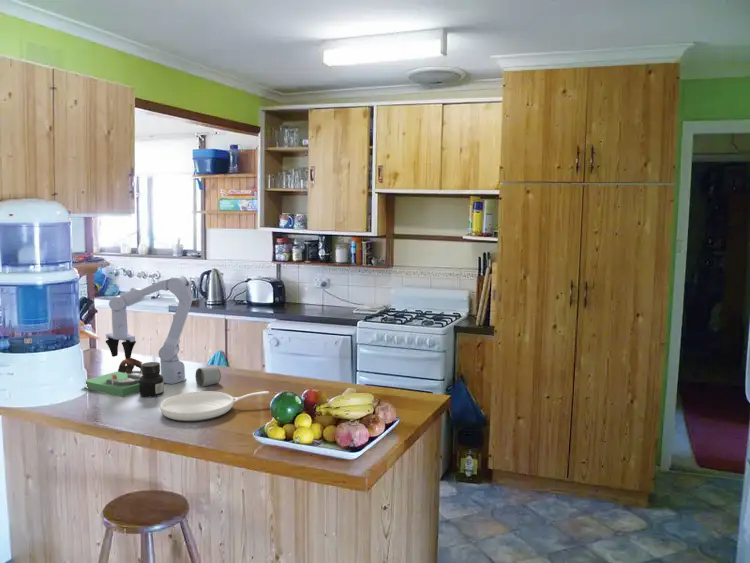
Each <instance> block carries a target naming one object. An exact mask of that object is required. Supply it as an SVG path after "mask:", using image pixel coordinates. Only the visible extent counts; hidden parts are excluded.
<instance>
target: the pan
mask: <svg viewBox="0 0 750 563" xmlns="http://www.w3.org/2000/svg"><path fill="white" fill-rule="evenodd" d="M269 393H270V391H268V390H266V391H265V390H263V391H258V392H257V391H256V392H251V393H248V394H244V395H242V396H237V397H234V396H232V395H230V394H228V393H226V392H220V391H210V390H209V391H207V390H204V391H203V390H202V391H192V392H184V393H180V394H176V395H173V396H170V397H167V398H166V399H164V400H162V402H161V403H160V405H159V409H160V411H161V414H163V415H164V416H165V417H166V418H169V419H170V420H172V421H173V420H174V421H179V422H199V421H207V420H212V419H214V418H218V417H221V416H223V415H225V414H227V412H229V411H230V410H231V409H232V408H233V405H234V403H237V402H238V401H240V400H243V399H245V398H248V397H251V396H258V395H269Z"/></svg>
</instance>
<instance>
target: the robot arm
mask: <svg viewBox="0 0 750 563" xmlns="http://www.w3.org/2000/svg"><path fill="white" fill-rule="evenodd" d="M159 291H166V292H167V291H169V292H170V293H172V294H173V295H174V296H175V298H176V299H177V301H178V304H177V308H176V311H175V313H174V316H173V319H172V322H171V325H170V328H169V332H168V334H167V337H166V339H165V341H164V342H163V345H162V347H161V348H160V349H159V350H158V357H159V358H160V362H159V363H160V375H162V376H163V382H164V383H165V384H168V385H169V384H170V385H175V384H176V383H180V382H183V381H187V378H186V372H185V371H186V370H185V364H184V362H183V361H180V359H179V356H178V354H179V352H180V341H181V340H180V339H181V336H182V333H183V330H184V326H185V323H186V320H187V318H188V315H189V313H190V312H189V311H190V309H191V306H192V303H193V300H194V298H193V294H192V290H191V283H190V282H189V280H188V279H187V277H186V276H184V275H181V274H179V275H176V276H173V277H169V278H165V279H162V280H160V281H157V282H154V283H153V284H150V285H148V286H146V287H144V288H139V287H132V288H130V290H129V291H125V292H120V293H119V294H118V295H116V296H114V297H112V298H111V299H109V303H108V306H109V308H110V309H111V324H112V325H111V327H112V333H106V334H105V339H107V340H105V344H106V345H107V347H108V349H109V351H110V354H111V357H113V358H114V357H118V353H119V343H120V341H122V342H121V345H122V347H123V351H124V358H125V359H127V358H132V352H133V349H134V347H135V345H136V343H137V341H136V336H135V335H134V336H133V335H131V334H130V333H128V332H129V331H128V312H127V307H130V306H131V307H132V306H133V305H135V304H138V303H140V302H142V301H144V299H145V297H146V296H149V295H151V294H153V293H156V292H159Z"/></svg>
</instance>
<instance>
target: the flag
mask: <svg viewBox="0 0 750 563" xmlns="http://www.w3.org/2000/svg"><path fill="white" fill-rule="evenodd" d="M111 376H112V387H114V382H113V379H115V380H117V376H116V375H113V374H111Z"/></svg>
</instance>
